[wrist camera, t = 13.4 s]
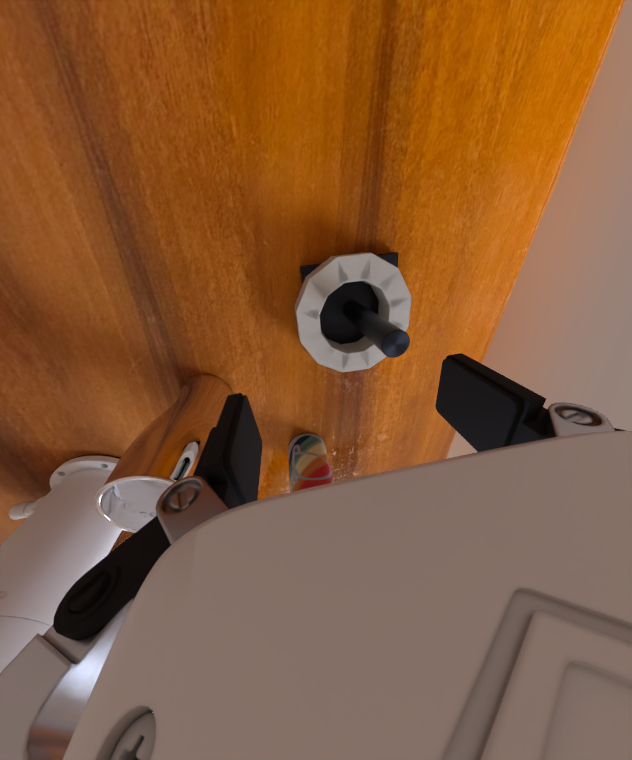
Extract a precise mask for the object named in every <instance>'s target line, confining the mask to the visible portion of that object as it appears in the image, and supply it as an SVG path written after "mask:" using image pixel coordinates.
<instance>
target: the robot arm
mask: <svg viewBox="0 0 632 760" xmlns="http://www.w3.org/2000/svg"><path fill="white" fill-rule="evenodd" d="M545 400H546V398H544V397H542V396H540V395H538V394H536V393H534V392H533V391H531V390H529V389H527V388H525V387H523V386H521V385H519V384H518V383H516V382H514V381H512V380H510V379H508V378H506V377H505V376H503V375H501V374H499V373H497V372H495V371H494V370H492V369H490V368H488V367H486V366H484V365H482V364H481V363H479V362H477V361H475V360H473V359H471V358H469V357H468V356H466V355H464V354H461V353H460V354H454V355H449V356H447V357H446V359H444V360H443V363H442V369H441V375H440V382H439V388H438V394H437V400H436V409H437V411H438V413H439V414H440V415H441V416H442V417H443V418H444V419H445V420H446V421H447V422H448V423H449V424H450V425H451V426H452V427H453V428H454V429H455V430H456V431H457V432H458V433H459V434H461V436H463V437H464V438H465V439H466V441H468V442H469V443H470V445H472V446H473V447H474V448H475V449H476V450H477V451H478V452H477V453H472V454H467V455H462V456H458V457H453V458H448V459H443V460H438V461H433V462H428V463H424V464H419V465H414V466H409V467H404V468H400V469H395V470H390V471H385V472H381V473H376V474H371V475H366V476H362V477H357V478H352V479H348V480H343V481H338V482H334V483H329V484H324V485H320V486H315V487H311V488H306V489H302V490H298V491H293V492H289V493H285V494H280V495H276V496H272V497H268V498H264V499H260V500H257V497H258V486H259V476H260V465H261V454H262V440H261V437H260V434H259V431H258V428H257V425H256V422H255V419H254V416H253V413H252V410H251V407H250V404H249V401H248V398H247V396H246V395H245V396H243V395H242V394H241V393H239V394H233V395H228V396H227V399H226V401H225V404H224V407H223V409H222V412H221V415H220V417H219V420H218V423H217V425H216V427H213V428H212V429H211V431H210V433H209V436H208V438H207V441H206V443H205V446H204V448H203V451H202V453H201V456H200V458H199V461H198V463H197V466H196V468H195V471H194V473H193V476H187V477H185V478H182V479H180V480H178V481H176V482H175V483H173V484H172V485H171V486H169V487H168V488H167V489H166V490H165V491H164V492H163V493H162V494H161V496H160V498H159V499H158V501H157V504H156V508H155V510H156V515H157V516H156V517H154V518H153V519H152V520H151V521H149V522H148V523H147V524H146V525H145V526H143V527H142V528H141V529H140V530H138V531H137V532H136V533H135V534H133V535H132V536H131V537H130V538H128V539H127V540H126V541H125V542H123V543H122V544H121V545H120V546H118V547H117V548H116V549H115V550H113V551H112V552H111V553H110V554H109V552H110V550H111V548H112V547H113V545H114V543H115V541H116V540H117V538H118V536H119V535H120V533H121V531H122V529H119V528H117V527H115V526H113V525H111V524H109V523H108V522H106V521H105V520H104V519H102V518H101V517H100V515H99V514H98V513H97V511H96V509H95V506H94V499H95V496H96V494H97V492H98V491H99V490H100V488H101V487H102V486H103V484H104V483H105V481H106V480H107V478H108V477H109V475H110V473H111V472H112V470H113V469H114V467H115V466H116V464H117V463H118V461H119V460H120V459H118V458H114V457H108V456H82V457H78V458H74V459H71V460H69V461H67V462H65V463H63V464H62V465H61V466H60V467H59V468H58V469H57V470H56V471H55V472H54V473H53V474H52V476H51V478H50V488H51V491H50V492H49V493H48V494H47V495H46V496H44V497H41V498H39V499H38V500H37V501H30V502H25V503H19V504H17V505H15V506H13V507H12V508H11V510H10V512H9V517H10V518H11V519H14V520H16V519H21V518H26V517H28V518H27V519H26V520H25V521H24V522H23V523H22V524H21V526H20V527H19V528H18V529H17V530H16V531H15V532H14V533H13V534H12V535H11V536H10V537H9V538H8V539H7V540H6V541H5V542H4V543H3V544H2V545H1V546H0V760H632V431H625V430H620V429H616V428H613V426H612V425H611V423H610V421H609V420H608V419H607V418H606V417H605V416H603V415H602V414H601V413H599V412H597V411H595V410H593V409H591V408H588V407H585V406H582V405H577V404H572V403H554V404H551V405H550V406H549V407H548V409H545V408H544V407H543V405H544V403H545ZM108 554H109V555H108ZM152 712H153V713H152Z"/></svg>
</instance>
